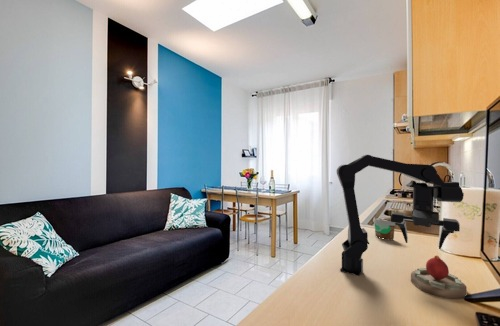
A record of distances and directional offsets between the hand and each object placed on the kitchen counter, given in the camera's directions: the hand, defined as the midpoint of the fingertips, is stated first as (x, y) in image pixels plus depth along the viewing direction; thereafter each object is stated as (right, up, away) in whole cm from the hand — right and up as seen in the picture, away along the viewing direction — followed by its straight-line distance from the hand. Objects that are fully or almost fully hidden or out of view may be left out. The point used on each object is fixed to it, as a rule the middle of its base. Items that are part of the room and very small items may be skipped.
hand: (422, 245), depth 81 cm
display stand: (+1, -11, -5) cm, 12 cm away
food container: (+11, -12, +44) cm, 47 cm away
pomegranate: (+1, -10, -5) cm, 11 cm away
